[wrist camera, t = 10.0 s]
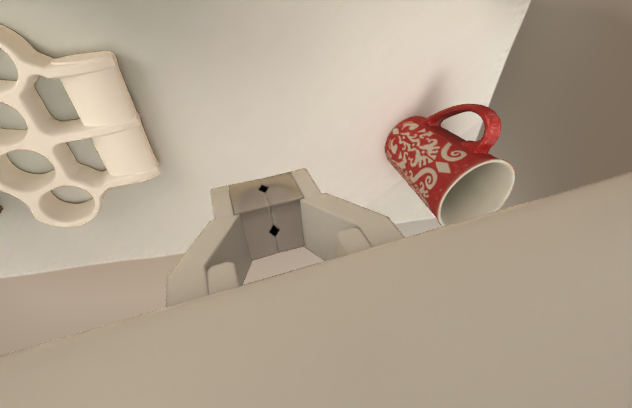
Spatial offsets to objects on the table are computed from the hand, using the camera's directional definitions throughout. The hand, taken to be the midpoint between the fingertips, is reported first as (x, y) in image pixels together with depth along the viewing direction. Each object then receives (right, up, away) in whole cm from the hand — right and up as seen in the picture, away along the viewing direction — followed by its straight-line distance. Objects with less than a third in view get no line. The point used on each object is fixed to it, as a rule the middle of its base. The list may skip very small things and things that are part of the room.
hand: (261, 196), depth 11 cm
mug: (+14, +10, +33) cm, 38 cm away
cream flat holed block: (-22, +7, +20) cm, 31 cm away
